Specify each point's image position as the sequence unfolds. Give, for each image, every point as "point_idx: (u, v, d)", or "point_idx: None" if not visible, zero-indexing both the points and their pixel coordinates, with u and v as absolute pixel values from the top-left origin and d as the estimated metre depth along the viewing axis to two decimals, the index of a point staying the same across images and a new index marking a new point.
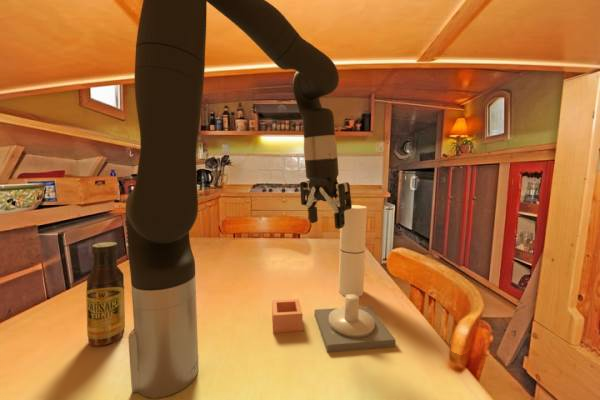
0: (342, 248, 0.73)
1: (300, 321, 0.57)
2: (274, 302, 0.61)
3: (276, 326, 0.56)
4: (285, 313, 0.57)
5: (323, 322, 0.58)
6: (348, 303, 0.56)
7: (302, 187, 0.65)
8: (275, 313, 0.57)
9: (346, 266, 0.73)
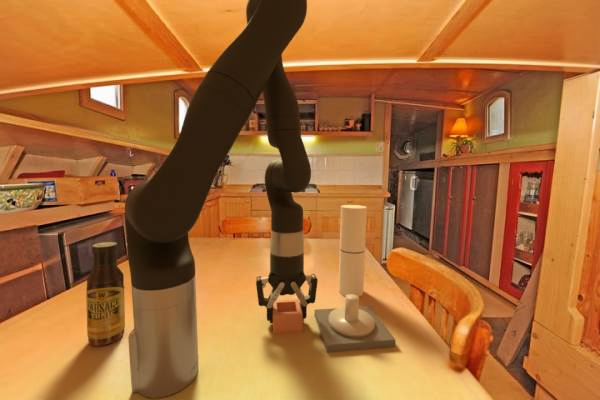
0: (342, 248, 0.73)
1: (300, 321, 0.57)
2: (274, 302, 0.61)
3: (276, 326, 0.56)
4: (285, 313, 0.57)
5: (323, 322, 0.58)
6: (348, 303, 0.56)
7: (260, 286, 0.57)
8: (275, 313, 0.57)
9: (346, 266, 0.73)
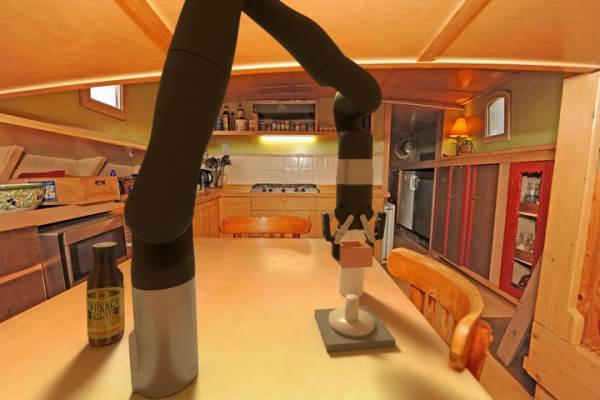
0: None
1: (370, 256, 0.54)
2: None
3: (346, 261, 0.53)
4: (355, 248, 0.53)
5: (323, 322, 0.58)
6: (348, 303, 0.56)
7: (327, 219, 0.53)
8: (344, 248, 0.53)
9: None
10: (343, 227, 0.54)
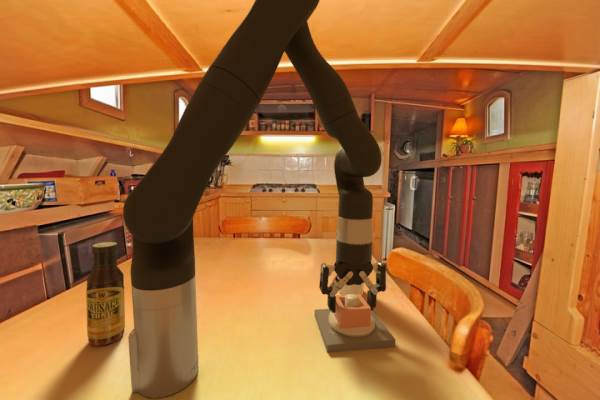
0: None
1: (368, 316, 0.55)
2: (336, 297, 0.59)
3: (344, 322, 0.54)
4: (353, 308, 0.54)
5: (323, 322, 0.58)
6: (348, 303, 0.56)
7: (327, 273, 0.54)
8: (343, 308, 0.54)
9: None
10: (341, 282, 0.55)
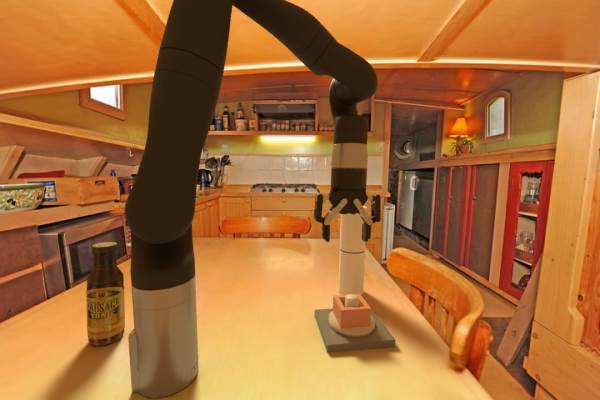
0: (342, 248, 0.73)
1: (368, 316, 0.55)
2: (336, 297, 0.59)
3: (344, 322, 0.54)
4: (353, 308, 0.54)
5: (323, 322, 0.58)
6: (348, 303, 0.56)
7: (321, 200, 0.54)
8: (343, 308, 0.54)
9: (346, 266, 0.73)
10: (335, 209, 0.54)
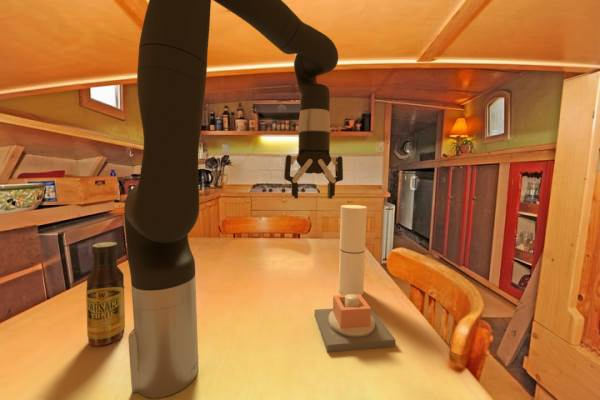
0: (342, 248, 0.73)
1: (368, 316, 0.55)
2: (336, 297, 0.59)
3: (344, 322, 0.54)
4: (353, 308, 0.54)
5: (323, 322, 0.58)
6: (348, 303, 0.56)
7: (289, 160, 0.62)
8: (343, 308, 0.54)
9: (346, 266, 0.73)
10: (302, 168, 0.62)
